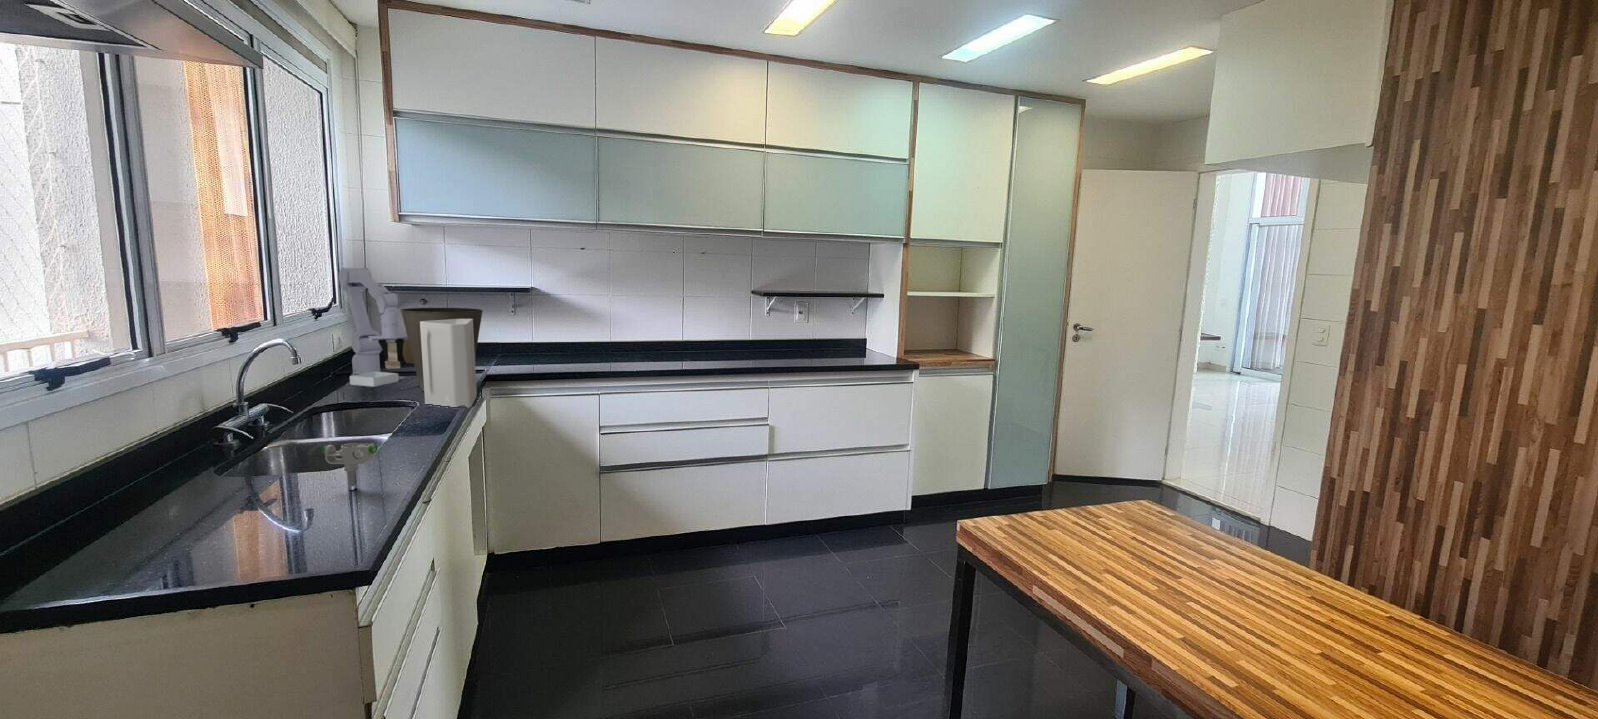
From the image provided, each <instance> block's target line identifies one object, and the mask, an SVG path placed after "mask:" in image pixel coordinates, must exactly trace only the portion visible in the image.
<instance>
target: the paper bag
mask: <svg viewBox="0 0 1598 719" xmlns="http://www.w3.org/2000/svg"><path fill="white" fill-rule="evenodd" d="M420 330H421V346H422V362H423V377H424V391H423V392H424V393H423V394H424V404H433V405H441V406H450V407H458V406H461V405H465V406H466V407H467V408H466V409H468V408H472V406H473V404H474V403H475V400H476V399H477V374H476V355H475V352H474V332H473V319H448V320H434V321H421V322H420Z"/></svg>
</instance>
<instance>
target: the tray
mask: <svg viewBox="0 0 1598 719" xmlns="http://www.w3.org/2000/svg"><path fill="white" fill-rule="evenodd" d="M398 376H399V373H397V372H396V373H395V372H384V371H380V372H369V373H364V374H354V375H349V385H351V386H361V387H369V388H370V387H372V388H374V387H379V386H383V385H384V386H385V385H388V384H393V383H394V384H395V383H399V381H400V379H398Z"/></svg>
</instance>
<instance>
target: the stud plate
mask: <svg viewBox="0 0 1598 719" xmlns="http://www.w3.org/2000/svg"><path fill="white" fill-rule="evenodd" d="M407 378H409V376H402V375H398V379H399V380H403V379H407Z"/></svg>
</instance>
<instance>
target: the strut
mask: <svg viewBox="0 0 1598 719" xmlns="http://www.w3.org/2000/svg"><path fill="white" fill-rule="evenodd" d="M387 351H388V359H386V360H385V361H384V364H385V365H384V366H385V367H384V368H386V369H387V370H392V369H394V370H395V369H401V361H400V360H398V358H397V346H396V342H395V341H391V342H389V341H388V342H387Z"/></svg>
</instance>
